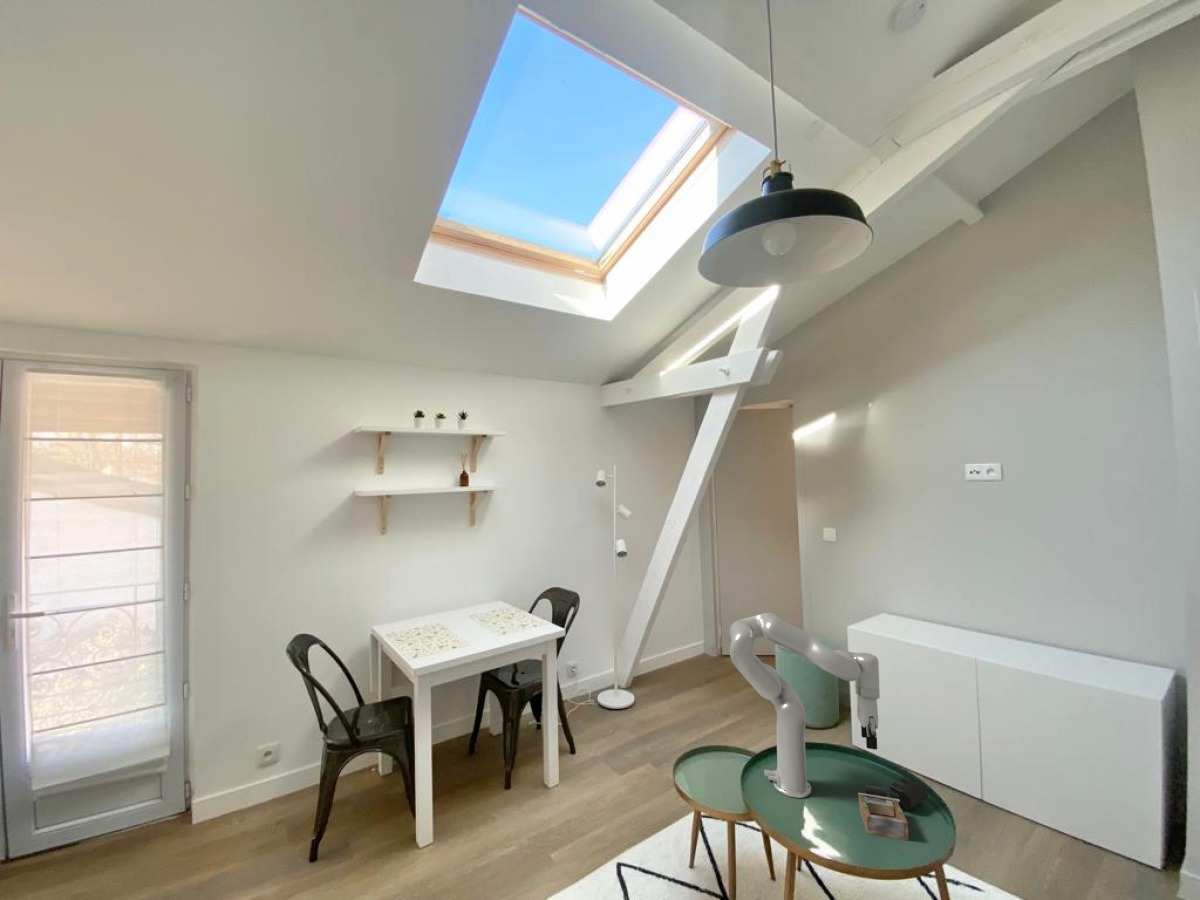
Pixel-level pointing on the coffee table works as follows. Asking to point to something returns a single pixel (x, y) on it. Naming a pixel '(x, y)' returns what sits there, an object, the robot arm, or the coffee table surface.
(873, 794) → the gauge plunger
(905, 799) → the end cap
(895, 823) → the wood and grey box
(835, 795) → the coffee table surface
